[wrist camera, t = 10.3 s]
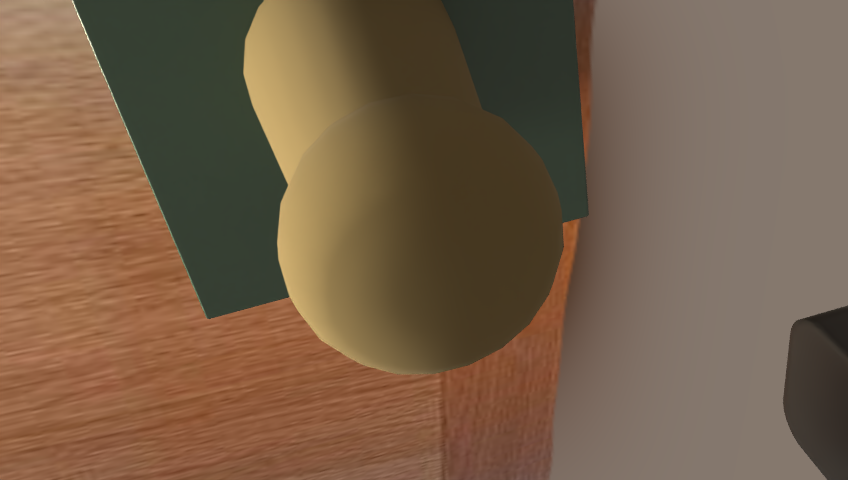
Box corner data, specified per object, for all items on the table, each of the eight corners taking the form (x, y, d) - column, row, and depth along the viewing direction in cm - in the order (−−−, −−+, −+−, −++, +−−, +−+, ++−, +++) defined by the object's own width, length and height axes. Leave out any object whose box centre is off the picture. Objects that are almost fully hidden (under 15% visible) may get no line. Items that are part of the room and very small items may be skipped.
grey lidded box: (71, -185, 26) (5, -152, 18) (458, -270, 27) (553, -273, 19) (210, 185, 34) (206, 320, 26) (507, 108, 35) (589, 216, 27)
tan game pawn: (222, 140, 23) (220, 410, 14) (271, -76, 20) (310, 79, 11) (420, 181, 25) (535, 440, 16) (488, -10, 22) (674, 167, 13)
